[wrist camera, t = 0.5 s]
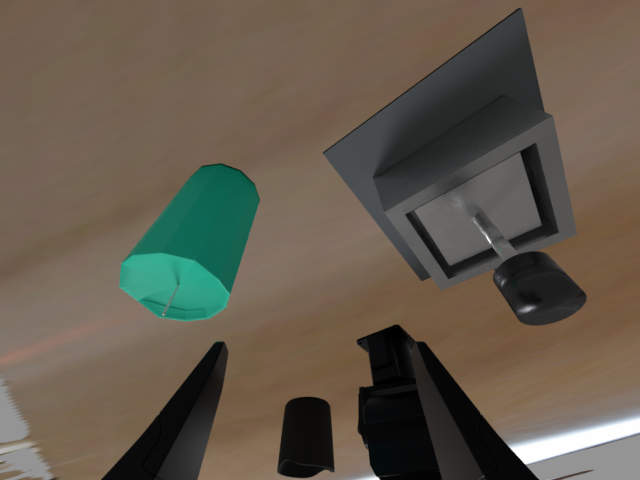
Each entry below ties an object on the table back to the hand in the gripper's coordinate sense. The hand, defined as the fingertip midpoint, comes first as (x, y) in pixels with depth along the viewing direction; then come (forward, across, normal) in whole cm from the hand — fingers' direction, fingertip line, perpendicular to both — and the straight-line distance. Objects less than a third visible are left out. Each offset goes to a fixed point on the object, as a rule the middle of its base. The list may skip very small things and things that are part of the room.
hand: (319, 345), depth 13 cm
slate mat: (+14, -11, -1) cm, 18 cm away
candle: (+14, +8, 0) cm, 16 cm away
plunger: (+10, -11, -1) cm, 15 cm away
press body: (+13, -12, 0) cm, 18 cm away
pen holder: (+14, +2, +46) cm, 48 cm away
